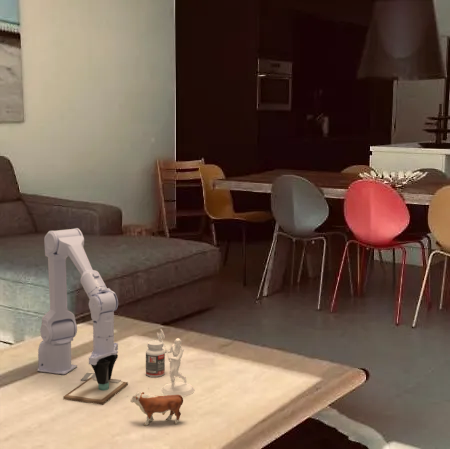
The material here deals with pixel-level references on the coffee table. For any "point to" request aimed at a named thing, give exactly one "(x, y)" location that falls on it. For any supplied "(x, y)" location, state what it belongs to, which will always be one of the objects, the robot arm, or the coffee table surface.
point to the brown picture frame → (95, 391)
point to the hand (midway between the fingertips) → (103, 381)
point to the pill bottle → (155, 359)
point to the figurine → (175, 370)
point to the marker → (104, 386)
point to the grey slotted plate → (88, 376)
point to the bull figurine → (158, 405)
